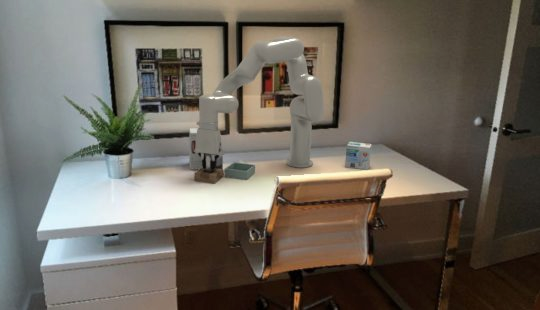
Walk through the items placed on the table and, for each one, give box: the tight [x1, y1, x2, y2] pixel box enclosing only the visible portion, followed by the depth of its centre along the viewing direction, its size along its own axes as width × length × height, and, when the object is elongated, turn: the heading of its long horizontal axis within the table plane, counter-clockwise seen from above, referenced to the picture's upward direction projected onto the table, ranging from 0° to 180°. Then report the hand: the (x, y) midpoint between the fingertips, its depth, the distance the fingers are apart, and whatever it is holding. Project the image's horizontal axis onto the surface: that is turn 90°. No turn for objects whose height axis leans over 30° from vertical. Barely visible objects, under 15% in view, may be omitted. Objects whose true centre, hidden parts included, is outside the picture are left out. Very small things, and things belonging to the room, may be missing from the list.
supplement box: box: [188, 127, 203, 170], centre depth 212 cm, size 10×9×17 cm
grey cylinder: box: [216, 155, 224, 170], centre depth 206 cm, size 6×6×8 cm
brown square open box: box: [194, 168, 224, 185], centre depth 198 cm, size 9×9×4 cm
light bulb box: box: [344, 141, 372, 171], centre depth 219 cm, size 11×7×11 cm, turn 71°
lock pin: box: [205, 154, 213, 173], centre depth 197 cm, size 4×4×13 cm
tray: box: [224, 161, 256, 181], centre depth 204 cm, size 10×10×4 cm
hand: (209, 168), depth 197 cm, fingers closed on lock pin, 3 cm apart
